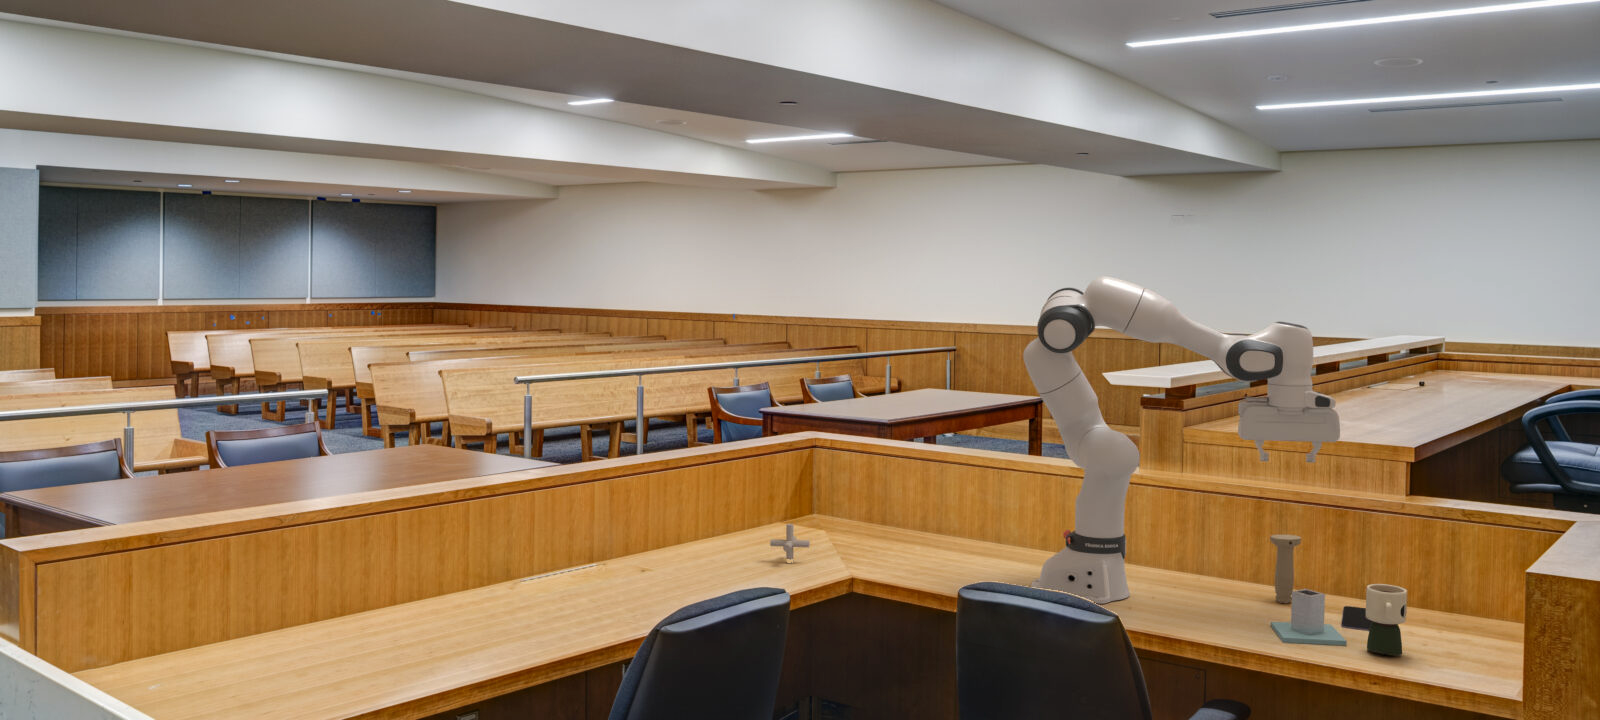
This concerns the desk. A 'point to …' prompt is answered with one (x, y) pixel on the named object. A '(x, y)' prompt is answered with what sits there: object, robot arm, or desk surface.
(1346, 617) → the smartphone
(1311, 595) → the grey hollow box
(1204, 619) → the desk surface
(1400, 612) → the character mug
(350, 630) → the desk surface
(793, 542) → the pipe connector
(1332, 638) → the post base
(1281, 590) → the handle
